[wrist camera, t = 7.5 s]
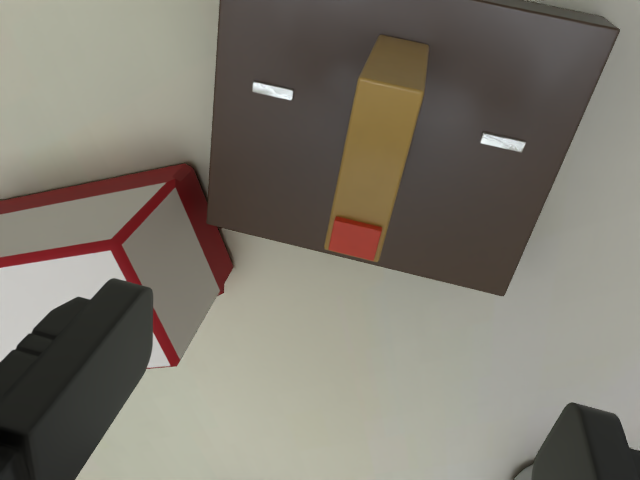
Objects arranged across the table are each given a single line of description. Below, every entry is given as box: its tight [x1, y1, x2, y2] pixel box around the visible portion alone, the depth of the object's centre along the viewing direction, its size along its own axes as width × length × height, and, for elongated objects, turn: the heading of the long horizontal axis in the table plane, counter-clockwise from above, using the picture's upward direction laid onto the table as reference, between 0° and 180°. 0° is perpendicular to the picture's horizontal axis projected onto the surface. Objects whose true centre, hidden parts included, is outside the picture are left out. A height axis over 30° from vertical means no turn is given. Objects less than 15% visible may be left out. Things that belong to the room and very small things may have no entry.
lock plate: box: [206, 0, 620, 296], centre depth 20 cm, size 12×10×2 cm
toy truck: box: [0, 163, 233, 369], centre depth 24 cm, size 6×15×7 cm, turn 106°
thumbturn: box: [324, 35, 429, 262], centre depth 16 cm, size 5×2×5 cm, turn 170°
